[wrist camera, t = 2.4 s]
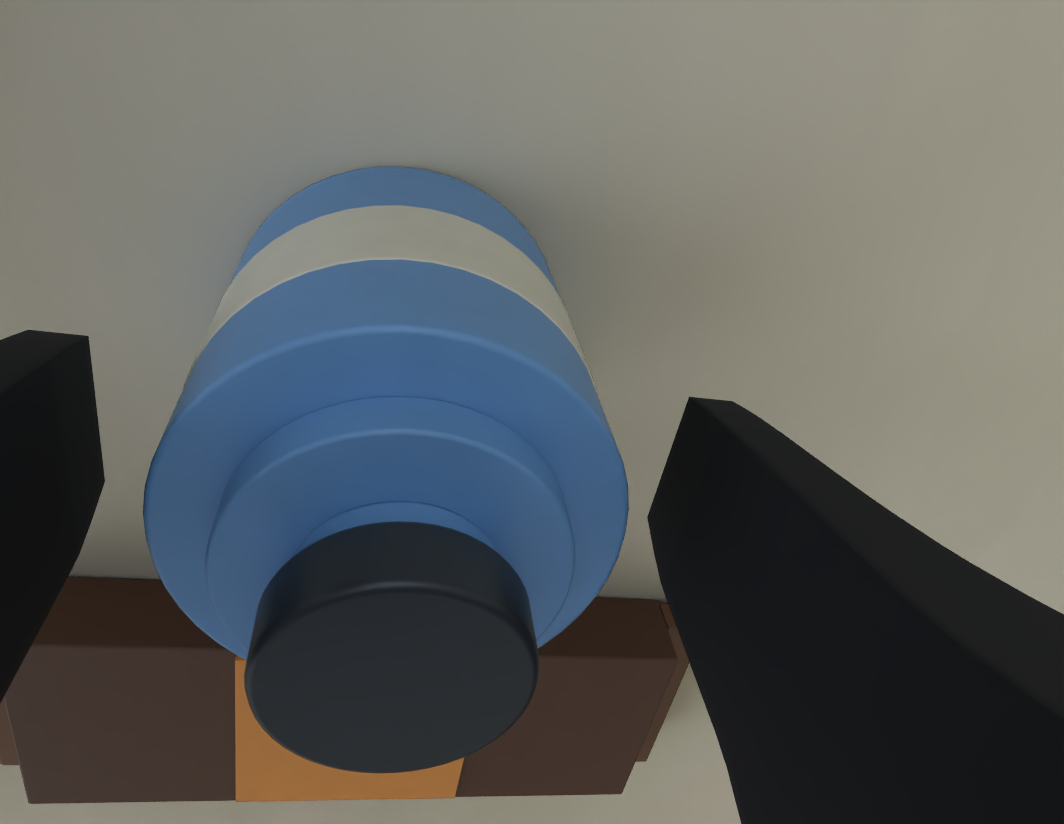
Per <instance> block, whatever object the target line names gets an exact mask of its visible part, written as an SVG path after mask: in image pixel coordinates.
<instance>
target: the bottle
mask: <svg viewBox="0 0 1064 824" xmlns="http://www.w3.org/2000/svg"><path fill="white" fill-rule="evenodd" d="M628 510H629V507H628V484H627V479H626V474H625V469H624V464H623V461H622V458H621V456H620V453H619V451H618V448H617V445H616V443H615V440H614V438H613V435H612V432H611V430H610V427H609V425H608V422H607V419H606V417H605V414H604V412H603V409H602V406H601V404H600V401H599V399H598V395H597V390H596V386H595V384H594V381H593V378H592V376H591V373H590V370H589V368H588V365H587V363H586V360H585V358H584V355H583V352H582V350H581V347H580V345H579V342H578V339H577V337H576V334H575V332H574V329H573V327H572V324H571V321H570V319H569V316H568V314H567V311H566V309H565V306H564V304H563V303H562V301H561V299H560V297H559V294H558V292H557V289H556V287H555V284H554V281H553V279H552V276H551V274H550V271H549V268H548V266H547V263H546V261H545V258H544V256H543V255H542V253H541V251H540V249H539V247H538V246H537V244H536V242H535V240H534V239H533V238H532V236H531V235H530V234H529V232H528V231H527V230H526V229H525V227H524V226H523V225H522V223H521V222H520V221H519V220H518V219H517V218H516V217H515V216H514V215H513V214H512V213H511V212H510V211H509V210H508V209H506V208H505V207H504V206H502V205H501V204H500V203H498V202H497V201H496V200H495V199H493V198H492V197H491V196H489V195H487V194H486V193H484V192H482V191H480V190H479V189H477V188H475V187H473V186H472V185H470V184H467V183H465V182H462V181H460V180H458V179H455V178H453V177H450V176H447V175H444V174H440V173H436V172H432V171H429V170H424V169H416V168H408V167H373V168H365V169H357V170H353V171H349V172H345V173H341V174H338V175H334V176H331V177H329V178H326V179H324V180H322V181H319V182H317V183H314V184H312V185H310V186H309V187H307V188H305V189H303V190H302V191H300V192H298V193H297V194H295V195H293V196H292V197H291V198H289V199H288V200H287V201H286V202H284V203H283V204H282V205H281V206H279V207H278V208H277V209H276V210H275V211H274V212H273V213H272V214H271V215H270V216H269V217H268V218H267V219H266V220H265V222H264V223H263V224H262V225H261V226H260V227H259V229H258V230H257V232H256V233H255V235H254V236H253V238H252V239H251V241H250V242H249V244H248V246H247V248H246V250H245V252H244V254H243V257H242V259H241V261H240V263H239V265H238V268H237V270H236V272H235V274H234V277H233V279H232V281H231V283H230V286H229V287H228V289H227V290H226V292H225V293H224V296H223V298H222V300H221V302H220V304H219V306H218V309H217V311H216V313H215V315H214V317H213V320H212V322H211V324H210V326H209V328H208V331H207V333H206V335H205V337H204V340H203V342H202V344H201V346H200V349H199V351H198V353H197V355H196V357H195V360H194V362H193V364H192V366H191V369H190V371H189V373H188V375H187V377H186V380H185V384H184V388H183V391H182V393H181V396H180V398H179V400H178V402H177V405H176V407H175V409H174V411H173V414H172V416H171V418H170V420H169V423H168V425H167V427H166V429H165V432H164V434H163V436H162V438H161V441H160V443H159V445H158V447H157V450H156V452H155V454H154V456H153V459H152V461H151V465H150V469H149V472H148V476H147V480H146V484H145V491H144V505H143V517H144V526H145V534H146V540H147V543H148V547H149V550H150V553H151V557H152V560H153V563H154V566H155V568H156V570H157V572H158V574H159V576H160V578H161V580H162V582H163V584H164V586H165V588H166V589H167V591H168V592H169V594H170V595H171V596H172V598H173V599H174V601H175V602H176V604H177V605H178V606H179V608H180V609H181V610H182V611H183V612H184V613H185V614H186V615H187V616H188V617H189V618H190V619H191V620H192V621H193V623H194V624H195V625H196V626H197V627H199V628H200V629H201V630H202V631H203V632H205V633H206V634H207V635H208V636H210V637H211V638H212V639H213V640H215V641H216V642H217V643H219V644H220V645H222V646H223V647H225V648H226V649H228V650H230V651H231V652H233V653H234V654H236V655H238V656H239V657H241V658H243V659H245V660H247V661H246V667H245V673H244V687H245V692H246V696H247V700H248V703H249V706H250V708H251V711H252V713H253V715H254V717H255V719H256V720H257V722H258V723H259V725H260V726H261V727H262V729H263V730H264V731H265V732H266V733H267V734H268V735H269V736H270V737H271V738H272V739H273V740H275V741H276V742H277V743H278V744H280V745H281V746H282V747H284V748H285V749H287V750H289V751H291V752H292V753H294V754H296V755H298V756H300V757H302V758H304V759H307V760H309V761H311V762H314V763H317V764H321V765H324V766H327V767H331V768H336V769H340V770H345V771H353V772H360V773H400V772H410V771H417V770H422V769H428V768H432V767H436V766H440V765H444V764H447V763H450V762H453V761H455V760H458V759H461V758H463V757H466V756H468V755H470V754H472V753H474V752H476V751H478V750H480V749H482V748H484V747H485V746H487V745H489V744H490V743H492V742H493V741H495V740H496V739H498V738H499V737H500V736H502V735H503V734H504V733H505V732H506V731H507V730H509V729H510V728H511V727H512V726H513V725H514V724H515V723H516V721H517V720H518V719H519V718H520V717H521V716H522V714H523V713H524V711H525V710H526V708H527V707H528V705H529V703H530V701H531V699H532V696H533V694H534V691H535V688H536V684H537V681H538V677H539V666H540V662H539V654H538V648H540V647H541V646H543V645H544V644H546V643H547V642H548V641H550V640H551V639H552V638H554V637H555V636H557V635H558V634H559V633H561V632H562V631H563V630H564V629H565V628H566V627H568V626H569V625H570V624H571V623H572V622H573V621H574V620H575V619H576V618H577V617H578V616H580V615H581V613H582V612H583V611H584V610H585V609H586V608H587V606H588V605H589V604H590V603H591V602H592V601H593V599H594V598H595V597H596V596H597V594H598V593H599V591H600V590H601V588H602V587H603V585H604V583H605V582H606V580H607V579H608V577H609V575H610V573H611V571H612V569H613V567H614V565H615V563H616V560H617V558H618V556H619V552H620V549H621V546H622V542H623V539H624V536H625V532H626V525H627V517H628Z"/></svg>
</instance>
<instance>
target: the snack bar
mask: <svg viewBox="0 0 1064 824" xmlns="http://www.w3.org/2000/svg"><path fill="white" fill-rule="evenodd" d="M538 654H539V662H540V666H539V677H538V681H537V684H536V688H535V691H534V694H533V696H532V699H531V701H530V703H529V705H528V707H527V708H526V710H525V711H524V713H523V714H522V716H521V717H520V718H519V719H518V720H517V721H516V723H515V724H514V725H513V726H512V727H511V728H510V729H509V730H507V731H506V732H505V733H504V734H503V735H502V736H500V737H499V738H498V739H496V740H495V741H493V742H492V743H490V744H489V745H487V746H485V747H484V748H482V749H480V750H478V751H476V752H474V753H472V754H470V755H468V756H466V757H463V758H461V759H458V760H455V761H453V762H450V763H447V764H444V765H440V766H436V767H432V768H428V769H422V770H417V771H410V772H400V773H360V772H353V771H345V770H340V769H336V768H331V767H327V766H324V765H321V764H317V763H314V762H311V761H309V760H307V759H304V758H302V757H300V756H298V755H296V754H294V753H292V752H291V751H289V750H287V749H285V748H284V747H282V746H281V745H280V744H278V743H277V742H276V741H275V740H273V739H272V738H271V737H270V736H269V735H268V734H267V733H266V732H265V731H264V730H263V729H262V727H261V726H260V725H259V723H258V722H257V720H256V719H255V717H254V715H253V713H252V711H251V708H250V706H249V703H248V700H247V696H246V692H245V687H244V673H245V667H246V661H247V660H245V659H243V658H241V657H239V656H238V655H236V654H234V653H233V652H231V651H230V650H228V649H226V648H225V647H223V646H222V645H220V644H219V643H217V642H216V641H215V640H213V639H212V638H211V637H210V636H208V635H207V634H206V633H205V632H203V631H202V630H201V629H200V628H199V627H197V626H196V625H195V624H194V623H193V621H192V620H191V619H190V618H189V617H188V616H187V615H186V614H185V613H184V612H183V611H182V610H181V609H180V608H179V606H178V605H177V604H176V602H175V601H174V599H173V598H172V596H171V595H170V594H169V592H168V591H167V589H166V588H165V586H164V584H163V582H162V581H160V580H134V579H109V578H84V577H67V579H66V581H65V583H64V585H63V587H62V589H61V591H60V593H59V595H58V596H57V598H56V600H55V602H54V604H53V606H52V608H51V610H50V612H49V614H48V615H47V617H46V619H45V621H44V623H43V625H42V627H41V629H40V630H39V632H38V634H37V636H36V638H35V640H34V642H33V643H32V645H31V647H30V649H29V651H28V653H27V655H26V657H25V658H24V660H23V662H22V664H21V666H20V668H19V670H18V671H17V673H16V675H15V677H14V679H13V681H12V683H11V685H10V686H9V688H8V690H7V692H6V694H5V696H4V698H3V700H2V701H1V703H0V764H2V765H20V769H21V773H22V778H23V782H24V786H25V790H26V794H27V799H28V803H30V804H42V803H103V802H165V801H227V800H236V802H247V801H307V800H367V799H428V798H455V797H473V796H535V795H597V794H621V793H622V792H623V789H624V787H625V785H626V782H627V780H628V778H629V775H630V773H631V770H632V768H633V766H634V763H635V762H639V761H647V758H648V756H649V754H650V751H651V749H652V747H653V745H654V742H655V740H656V738H657V735H658V733H659V731H660V728H661V726H662V724H663V722H664V719H665V717H666V715H667V712H668V710H669V708H670V706H671V703H672V701H673V699H674V696H675V694H676V692H677V689H678V687H679V685H680V683H681V680H682V678H683V676H684V673H685V671H686V669H687V667H688V664H689V659H688V657H687V654H686V651H685V649H684V646H683V643H682V641H681V638H680V635H679V632H678V630H677V627H676V624H675V621H674V619H673V616H672V613H671V610H670V607H669V605H668V604H660V605H659V604H658V601H656V600H639V599H613V598H594V599H593V601H592V602H591V603H590V604H589V605H588V606H587V608H586V609H585V610H584V611H583V612H582V613H581V615H580V616H578V617H577V618H576V619H575V620H574V621H573V622H572V623H571V624H570V625H569V626H568V627H566V628H565V629H564V630H563V631H562V632H561V633H559V634H558V635H557V636H555V637H554V638H552V639H551V640H550V641H548V642H547V643H546V644H544V645H543V646H541V647H540V648H538Z"/></svg>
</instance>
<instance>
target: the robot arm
mask: <svg viewBox="0 0 1064 824" xmlns="http://www.w3.org/2000/svg"><path fill="white" fill-rule="evenodd" d="M104 482H105V478H104V469H103V460H102V452H101V443H100V434H99V425H98V416H97V408H96V399H95V390H94V381H93V372H92V364H91V355H90V346H89V337H88V336H83V335H73V334H64V333H54V332H44V331H34V330H27V331H24V332H21V333H18V334H15V335H12V336H10V337H7V338H5V339H2V340H0V703H1V701H2V700H3V698H4V696H5V694H6V692H7V690H8V688H9V686H10V685H11V683H12V681H13V679H14V677H15V675H16V673H17V671H18V670H19V668H20V666H21V664H22V662H23V660H24V658H25V657H26V655H27V653H28V651H29V649H30V647H31V645H32V643H33V642H34V640H35V638H36V636H37V634H38V632H39V630H40V629H41V627H42V625H43V623H44V621H45V619H46V617H47V615H48V614H49V612H50V610H51V608H52V606H53V604H54V602H55V600H56V598H57V596H58V595H59V593H60V591H61V589H62V587H63V585H64V583H65V581H66V579H67V577H68V575H69V573H70V572H71V570H72V568H73V566H74V564H75V562H76V560H77V558H78V556H79V553H80V551H81V548H82V545H83V543H84V540H85V537H86V534H87V532H88V529H89V526H90V524H91V521H92V518H93V515H94V512H95V509H96V506H97V503H98V500H99V497H100V494H101V491H102V488H103V485H104ZM647 518H648V523H649V528H650V534H651V539H652V544H653V550H654V555H655V559H656V563H657V568H658V572H659V576H660V581H661V584H662V587H663V590H664V593H665V596H666V599H667V602H668V605H669V607H670V610H671V613H672V616H673V619H674V621H675V624H676V627H677V630H678V632H679V635H680V638H681V641H682V643H683V646H684V649H685V651H686V654H687V657H688V659H689V662H690V665H691V668H692V670H693V673H694V676H695V678H696V681H697V684H698V686H699V689H700V692H701V695H702V697H703V700H704V703H705V705H706V708H707V711H708V713H709V716H710V719H711V722H712V724H713V727H714V730H715V732H716V735H717V738H718V741H719V745H720V748H721V751H722V754H723V757H724V760H725V763H726V766H727V769H728V773H729V777H730V781H731V785H732V789H733V793H734V797H735V801H736V804H737V808H738V812H739V816H740V820H741V824H1064V614H1062V613H1060V612H1058V611H1056V610H1054V609H1052V608H1050V607H1048V606H1046V605H1045V604H1043V603H1041V602H1039V601H1037V600H1035V599H1033V598H1031V597H1030V596H1028V595H1026V594H1024V593H1022V592H1021V591H1019V590H1017V589H1015V588H1014V587H1012V586H1010V585H1008V584H1007V583H1005V582H1003V581H1001V580H1000V579H998V578H996V577H994V576H993V575H991V574H989V573H987V572H986V571H984V570H982V569H980V568H979V567H977V566H975V565H973V564H972V563H970V562H968V561H967V560H965V559H963V558H962V557H960V556H959V555H957V554H955V553H954V552H952V551H950V550H949V549H947V548H945V547H944V546H942V545H941V544H939V543H938V542H936V541H935V540H933V539H932V538H930V537H928V536H927V535H925V534H924V533H922V532H921V531H919V530H918V529H916V528H915V527H913V526H912V525H910V524H909V523H907V522H906V521H904V520H903V519H901V518H900V517H898V516H897V515H895V514H894V513H892V512H891V511H889V510H888V509H886V508H885V507H883V506H882V505H881V504H879V503H878V502H876V501H875V500H873V499H872V498H870V497H869V496H868V495H866V494H865V493H863V492H862V491H861V490H859V489H858V488H856V487H855V486H854V485H852V484H851V483H849V482H848V481H847V480H845V479H844V478H842V477H841V476H840V475H838V474H837V473H836V472H834V471H833V470H831V469H830V468H829V467H827V466H826V465H825V464H823V463H822V462H821V461H819V460H818V459H816V458H815V457H814V456H812V455H811V454H810V453H808V452H807V451H805V450H804V449H803V448H801V447H800V446H799V445H797V444H796V443H795V442H793V441H792V440H790V439H789V438H788V437H786V436H785V435H784V434H782V433H781V432H779V431H778V430H777V429H775V428H774V427H772V426H771V425H769V424H768V423H767V422H765V421H764V420H762V419H761V418H759V417H758V416H756V415H755V414H753V413H752V412H750V411H748V410H747V409H745V408H743V407H742V406H740V405H738V404H736V403H734V402H733V401H724V400H715V399H705V398H695V397H689V399H688V402H687V404H686V407H685V410H684V413H683V416H682V419H681V422H680V425H679V428H678V430H677V433H676V436H675V439H674V442H673V445H672V448H671V451H670V453H669V456H668V459H667V462H666V465H665V468H664V471H663V474H662V476H661V479H660V482H659V485H658V488H657V491H656V494H655V497H654V499H653V502H652V505H651V508H650V511H649V514H648V517H647Z"/></svg>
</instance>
